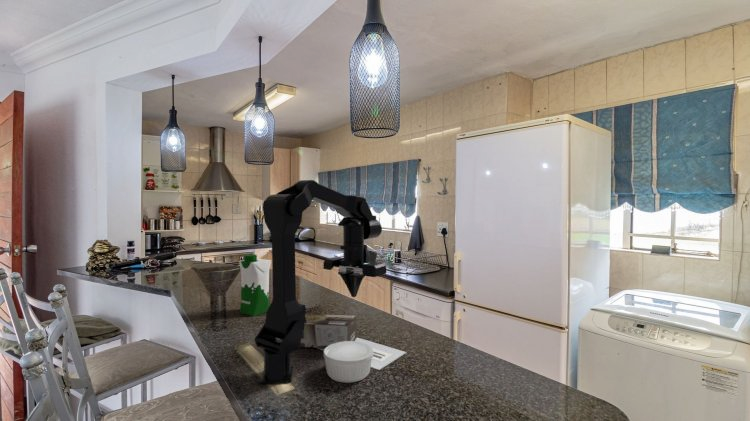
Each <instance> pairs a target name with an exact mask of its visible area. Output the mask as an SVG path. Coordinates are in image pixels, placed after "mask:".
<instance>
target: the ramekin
mask: <svg viewBox="0 0 750 421" xmlns="http://www.w3.org/2000/svg"><path fill="white" fill-rule="evenodd" d="M322 353H323V354H322V355H323V359H324V363H325V371H326V374H327V375H328V377H330V379H331V380H333V381H335V382H338V383H356V382H359V381H362V380H364V379H365V378H366V377H368V375H369V374H370V373H371V372H370V371H371V362H372V357H373V349H372V347H371V346H369V345H367V344H365V343H362V342H356V341H344V342H338V343H334V344H331V345H329V346H328V347H326V348H325V349H324V351H323V352H322Z"/></svg>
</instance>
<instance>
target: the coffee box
mask: <svg viewBox="0 0 750 421" xmlns="http://www.w3.org/2000/svg"><path fill="white" fill-rule="evenodd" d="M305 317H306V321H307V323H305V327H304V332H303V334H302V338H301V342H300V346H299V348H315V349H317V348H326V347H328V346H329V345H331V344H334V343H338V342H344V341H355V340H356V338H358V330H357V316H356V315H344V314H342V315H341V314H314V313H313V314H309V313H305Z"/></svg>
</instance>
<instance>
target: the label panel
mask: <svg viewBox="0 0 750 421" xmlns="http://www.w3.org/2000/svg"><path fill="white" fill-rule="evenodd" d="M355 341H356V342H362V343H365V344H367V345H369V346H371V347H372V349H373V357H372V362H371V367H370V369H371V368H372V369H375V370H378V371H380V370H382V369H384V368H385V367H386V366H388V365H390V364H391V363H393V362H394V361H396V360H398V359H400V358H401V357H402V356H403V355H405V354H407V351H403V350H400V349H397V348H394V347H390V346H387V345H383V344H380V343H378V342H377V343H376V342H374V341H370V340H367V339H364V338H361V337H360V338H359V337H357V338H356V340H355ZM316 349H318V350H321V351H323V352H324V349H325V348H316Z"/></svg>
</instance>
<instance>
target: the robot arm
mask: <svg viewBox="0 0 750 421" xmlns="http://www.w3.org/2000/svg"><path fill="white" fill-rule="evenodd" d="M312 202H316V203H319V204H322V205H325V206H327V207H331V208H333V209H334V210H335V212H336V213H337V214H339V215H340V216H342V217H343V218H342V220H340V221H339V222H338V224H337V226H338V227H342V228H343V230H342V233H343V235H342V236H343V237H342V238H343V243H342V245H340V246H339V247H340V250H343V252H342V253H343V257H339V256H334V257H329V258H325V259H324V261H323V262H322V263H323V264H322V265H323V266H322V267H323V270H328V271H331V270H333V268H339V272H337V274H338V275H339V276H340V277H341V279H342V280H343V282H344V284H345V286H346V287H347V290H348V292H349V294H350V296H351V297H352V298H355V297H357V295H358V292H359V289H360V286H361V284H362V282H363V280H364V278H365V277H368V278H369V277H370V278H377V277H380V276H383V275H386V274H387V266H386V264H385V263H383V262H377V258H378V257H377V256H378V253H377V252H374V251H372V250H369V249H368V244H365V241H366V240H368V239H369V240H370V239H374V238H375V239H376V238H378V237H380V235H381V234H382V231H383V226H382V224H381V223H380V221H379V220H377V215H374V214H373V213H372V211H371V209H370V206H369V204H368V202H367V199H366V197H364V196H360V195H349V194H345V193H341V192H339V191H337V190H335V189H334V188H333V189H332V188H330V187H328V186H325V185H323V184H321V183H318V182H317V181H316V180H314V179H305V180H303V179H300V180H298V181H297V182H295V183H294V184H292V185H291V186H289V187H287V188H284V189H282V190H281V191H278V192H277V193H276V194H270V195H269V196H267V197H266V199H264V200H263V202H262V212H263V218H264V220H263V221H264V224H265V225H266V227H267V229H268V231H269V233H270V235H271V255H272V256H271V259H272V261H271V266H272V267H271V268H272V270H271V271H272V273H271V274H272V301H271V302H270V303H269V305H270V306H269V308H268V310H267V312H265V313H266V314H265V323H264V324H263V325H262V327H261V329H260V330H259V331H258V333H257V335H256V336H255V337H254V342H255V346H256V347H257V348H261V349H263V371H262V374H261V376H260V380H259V384H260V385H262V384H263V385H264V384H280V383H282V384H283V383H290V382H293V381H292V380H293V375H294V368H295V367H294V366H293V365H292V353H294V352H295V351H297V350H300V347H299V346H300V342H301V338H302V334H303V332H304V327H305V323H307V321H306V317H305V314H307V312H306V311H307V308H306V305H305V304H303V303H302V304H301V303H299V301H298V299H297V295H296V294H297V293H296V292H297V289H296V288H297V286H296V284H297V283H296V233H297V231H298V230H299V227H300V226H301V224H302V220H303V219H302V218H303V213H304V211H306V210H307V209H308V208H309V207H310V206H311V204H312Z"/></svg>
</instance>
